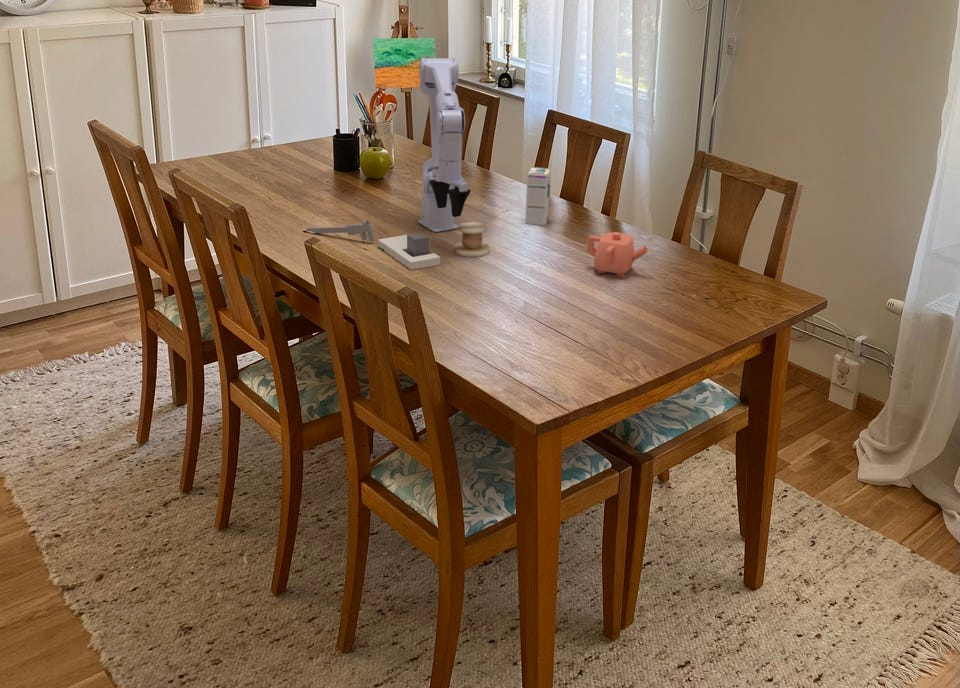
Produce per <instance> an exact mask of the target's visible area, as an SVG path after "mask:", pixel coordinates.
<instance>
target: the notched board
mask: <svg viewBox="0 0 960 688" xmlns="http://www.w3.org/2000/svg"><path fill="white" fill-rule="evenodd" d="M407 235H408V234H403V235H398V236H392V237H386V238H379V239H377V246H378V245H379V246H380V247H381V248H383V249H384V250H385V251H387V252H388V253H389V254H390V255H391V256H390V255H389V254H388V255H389V256H390V257H392V256H393V257H394V258H393V257H392V258H393V259H395V260H396V259H397V260H398V261H397V260H396V261H397V262H399V263H400V262H401V263H400V264H402V265H403V264H404V265H405V266H404V265H403V266H404V267H406V268H407V267H408V268H407V269H409V270H410V269H411V270H410V271H413V270H414V269H415V270H418V269H419V270H420V269H425V268H430V267H435V266H440V265H441V256H439V255H438V254H436V253H435V252H434V253H429V254H427V255H421V256H416V257H412V256H410V255H409V254H407ZM385 251H384V252H385Z"/></svg>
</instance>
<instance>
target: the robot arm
mask: <svg viewBox="0 0 960 688" xmlns="http://www.w3.org/2000/svg"><path fill="white" fill-rule="evenodd" d="M418 65H419V67H418V71H419V72H418V74H419V88H420V91H421V93H423V94H424V95H426V96H427V99H428V104H429V116H430V117H429V120H430V142H431V143H430V145H431V157H430V158H429V159H428V160H427V161H426V162H424V163H423V166H422V168H421V191H422V192H423V194H422V197H421V200H420V201H421V205H420V207H421V210H420V213H421V214H420V215H421V216H420V218H421V219H420V220H418V223H419V224H420V225H422V226H423V227H425V228H427V229H428V230H430V231H432V232H433V233H439V232H445V231H450V230H457V229H459V225H460V224H456V223H455V218H457V217H461V216H462V213H463V210H464V206H465V203H466V201H467V199H468V197H469V195H470V194H471V189H469V183H467V182H466V181H465V178H463V176H462V162H463V161H462V159H463V155H462V154H463V134H464V133H465V128H466V115H465V110H464V108H462V107H460V102H459V97H458V95H457V93H456V92H455V91H456V88H457V85H458V80H459V76H460V75H459V73H460V70H459V61H458V59H457V58H456V57H451V58H450V57H449V58H446V57H445V58H439V57H436V58H434V57H433V58H432V57H429V58H427V57H426V58H425V57H421V59H420V60H419V63H418Z"/></svg>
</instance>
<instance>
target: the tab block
mask: <svg viewBox="0 0 960 688" xmlns="http://www.w3.org/2000/svg"><path fill="white" fill-rule="evenodd" d="M406 235H407V254H409V255H410V256H412V257H416V256H421V255H427V254H430V237H429V236H428V235H426V234H425V233H424V232H415V233H410V234H406Z"/></svg>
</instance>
